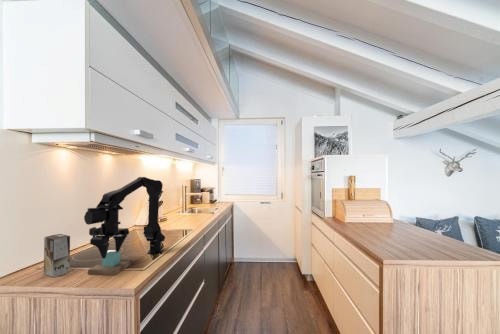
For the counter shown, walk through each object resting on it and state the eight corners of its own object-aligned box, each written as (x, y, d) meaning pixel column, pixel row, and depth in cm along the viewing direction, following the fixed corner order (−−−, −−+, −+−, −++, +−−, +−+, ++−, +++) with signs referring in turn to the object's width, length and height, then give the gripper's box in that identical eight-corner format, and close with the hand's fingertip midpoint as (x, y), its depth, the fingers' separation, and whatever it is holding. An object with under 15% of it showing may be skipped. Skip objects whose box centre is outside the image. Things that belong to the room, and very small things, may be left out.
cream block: (109, 257, 123) (109, 250, 123) (116, 258, 123) (116, 250, 123) (103, 260, 119) (103, 252, 119) (111, 260, 119) (111, 252, 119)
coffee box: (70, 272, 105) (71, 235, 105) (53, 277, 99) (53, 239, 100) (59, 268, 109) (60, 233, 109) (42, 273, 103) (43, 236, 104)
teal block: (109, 262, 111) (109, 251, 111) (120, 262, 110) (120, 251, 111) (102, 266, 106) (102, 255, 106) (112, 266, 106) (113, 255, 106)
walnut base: (108, 263, 115) (108, 259, 115) (131, 263, 114) (131, 259, 114) (87, 274, 102) (87, 269, 102) (114, 275, 101) (114, 270, 101)
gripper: (108, 216, 119) (108, 248, 118) (78, 224, 100) (77, 261, 100) (129, 216, 118) (129, 248, 117) (103, 224, 99) (102, 262, 99)
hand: (110, 254), depth 108 cm, fingers open, 9 cm apart
